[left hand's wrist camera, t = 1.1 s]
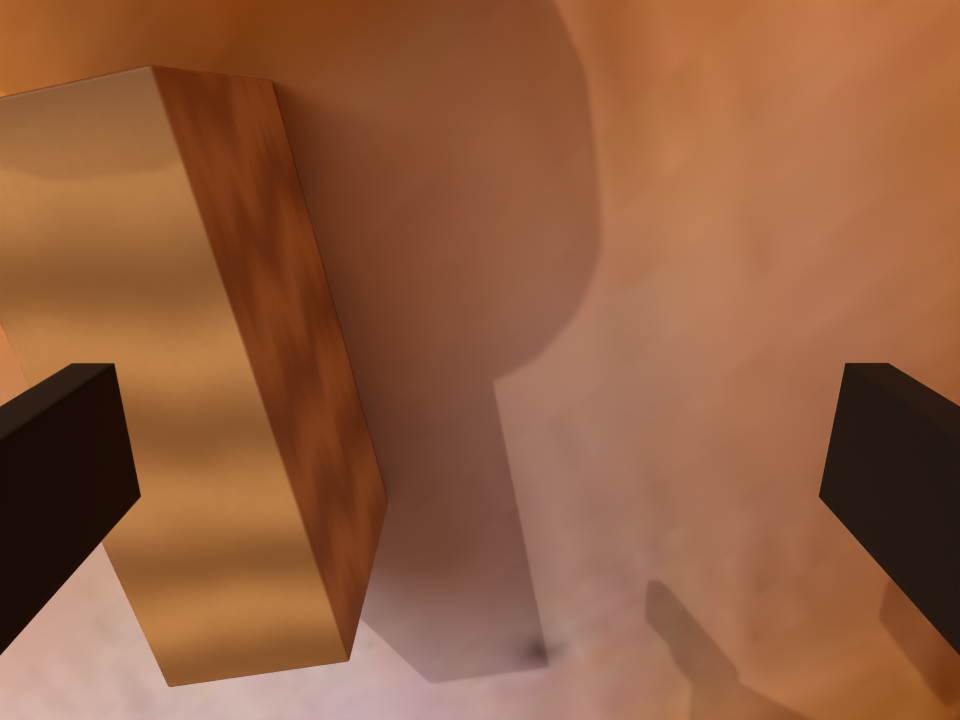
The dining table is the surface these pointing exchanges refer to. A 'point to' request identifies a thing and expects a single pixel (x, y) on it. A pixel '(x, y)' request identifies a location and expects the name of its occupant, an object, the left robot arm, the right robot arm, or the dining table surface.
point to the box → (198, 358)
